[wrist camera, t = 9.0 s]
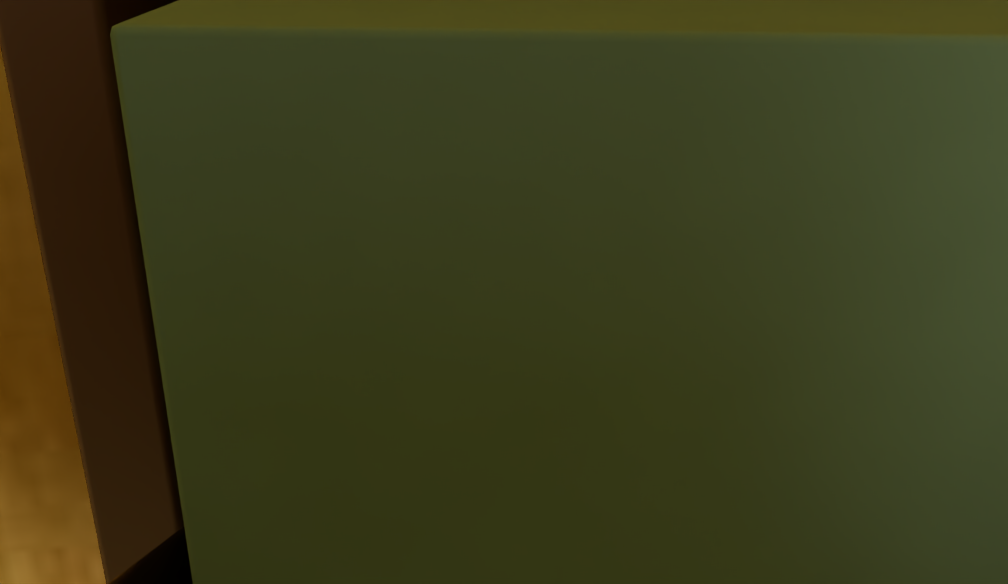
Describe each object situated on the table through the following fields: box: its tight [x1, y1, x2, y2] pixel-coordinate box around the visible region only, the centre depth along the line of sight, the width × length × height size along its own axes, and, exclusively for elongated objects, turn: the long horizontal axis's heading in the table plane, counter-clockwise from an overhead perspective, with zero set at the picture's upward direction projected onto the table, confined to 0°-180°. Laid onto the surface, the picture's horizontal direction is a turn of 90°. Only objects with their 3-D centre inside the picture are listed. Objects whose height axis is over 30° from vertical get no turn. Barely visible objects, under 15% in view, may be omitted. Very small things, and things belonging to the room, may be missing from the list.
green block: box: [110, 0, 1008, 584], centre depth 8 cm, size 9×5×4 cm, turn 179°
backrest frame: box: [0, 0, 184, 584], centre depth 9 cm, size 9×13×2 cm
